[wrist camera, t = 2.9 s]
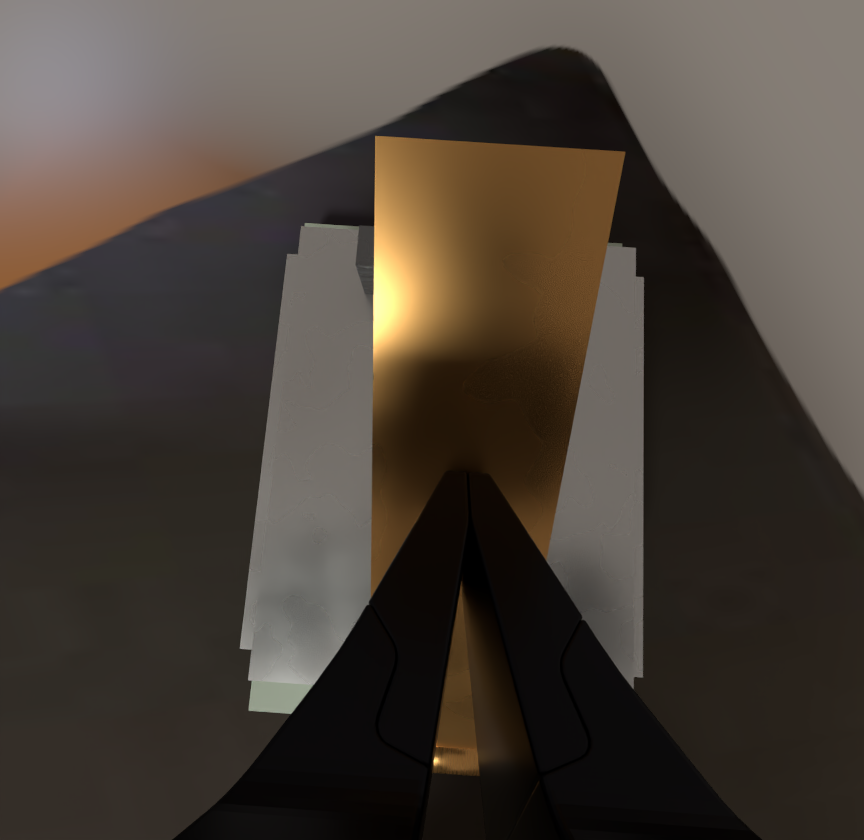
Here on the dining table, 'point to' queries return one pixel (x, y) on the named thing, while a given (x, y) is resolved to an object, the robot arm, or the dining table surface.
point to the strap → (479, 341)
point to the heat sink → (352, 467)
